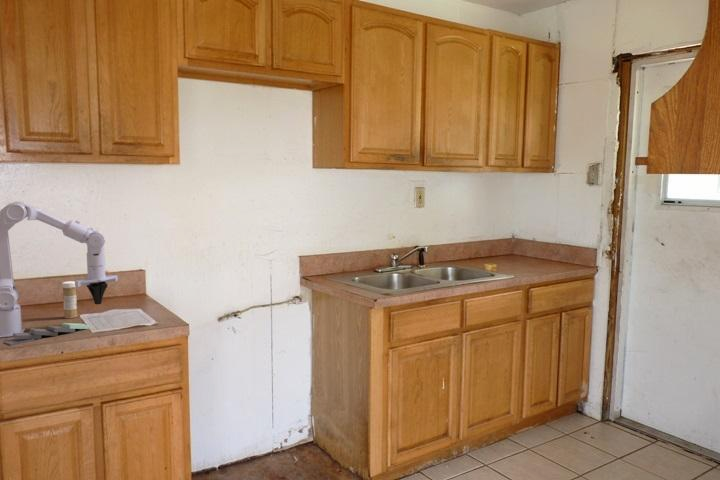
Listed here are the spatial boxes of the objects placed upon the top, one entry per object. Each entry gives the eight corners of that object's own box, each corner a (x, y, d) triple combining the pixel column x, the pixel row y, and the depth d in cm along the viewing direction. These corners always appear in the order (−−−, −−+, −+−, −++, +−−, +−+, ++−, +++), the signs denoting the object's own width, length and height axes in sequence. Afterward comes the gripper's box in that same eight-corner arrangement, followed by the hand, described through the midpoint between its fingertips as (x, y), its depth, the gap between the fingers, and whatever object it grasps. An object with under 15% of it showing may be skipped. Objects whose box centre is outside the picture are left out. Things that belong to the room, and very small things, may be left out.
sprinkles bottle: (67, 316, 211) (65, 280, 209) (79, 315, 211) (77, 280, 210) (61, 319, 206) (59, 283, 205) (74, 318, 207) (72, 282, 205)
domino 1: (34, 342, 179) (10, 347, 173) (28, 340, 181) (4, 345, 176) (34, 339, 178) (10, 344, 173) (27, 336, 181) (4, 341, 176)
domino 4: (74, 332, 188) (54, 331, 182) (66, 330, 191) (46, 329, 185) (75, 328, 188) (55, 328, 182) (67, 326, 191) (47, 325, 185)
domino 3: (57, 335, 184) (34, 334, 179) (52, 333, 187) (29, 331, 182) (58, 332, 184) (35, 330, 179) (52, 329, 187) (30, 328, 182)
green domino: (81, 323, 195) (62, 323, 189) (89, 325, 193) (70, 324, 187) (80, 327, 195) (61, 326, 189) (88, 328, 192) (69, 328, 186)
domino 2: (41, 338, 180) (16, 339, 176) (37, 335, 184) (12, 336, 179) (41, 334, 180) (16, 335, 176) (37, 332, 184) (13, 333, 179)
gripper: (81, 269, 187) (83, 309, 189) (121, 264, 199) (123, 301, 200) (71, 267, 192) (72, 306, 193) (111, 262, 203) (112, 299, 205)
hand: (97, 303), depth 197 cm, fingers closed
